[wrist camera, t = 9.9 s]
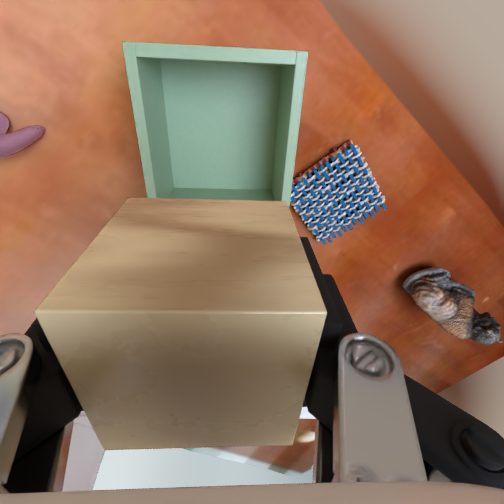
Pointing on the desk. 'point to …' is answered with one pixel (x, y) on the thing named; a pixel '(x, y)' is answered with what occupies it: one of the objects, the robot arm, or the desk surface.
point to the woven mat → (336, 192)
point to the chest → (216, 119)
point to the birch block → (189, 325)
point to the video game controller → (16, 137)
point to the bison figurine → (451, 305)
